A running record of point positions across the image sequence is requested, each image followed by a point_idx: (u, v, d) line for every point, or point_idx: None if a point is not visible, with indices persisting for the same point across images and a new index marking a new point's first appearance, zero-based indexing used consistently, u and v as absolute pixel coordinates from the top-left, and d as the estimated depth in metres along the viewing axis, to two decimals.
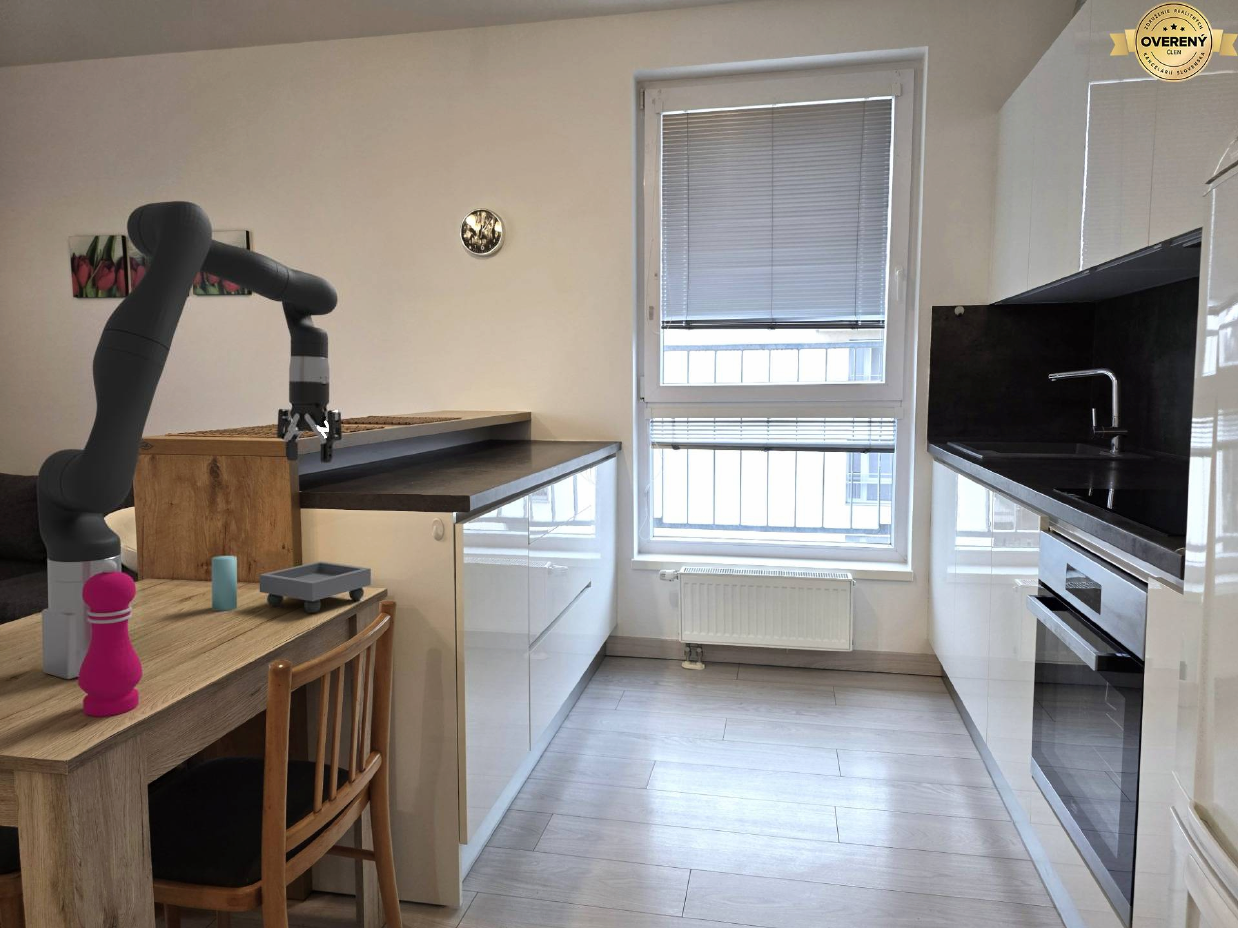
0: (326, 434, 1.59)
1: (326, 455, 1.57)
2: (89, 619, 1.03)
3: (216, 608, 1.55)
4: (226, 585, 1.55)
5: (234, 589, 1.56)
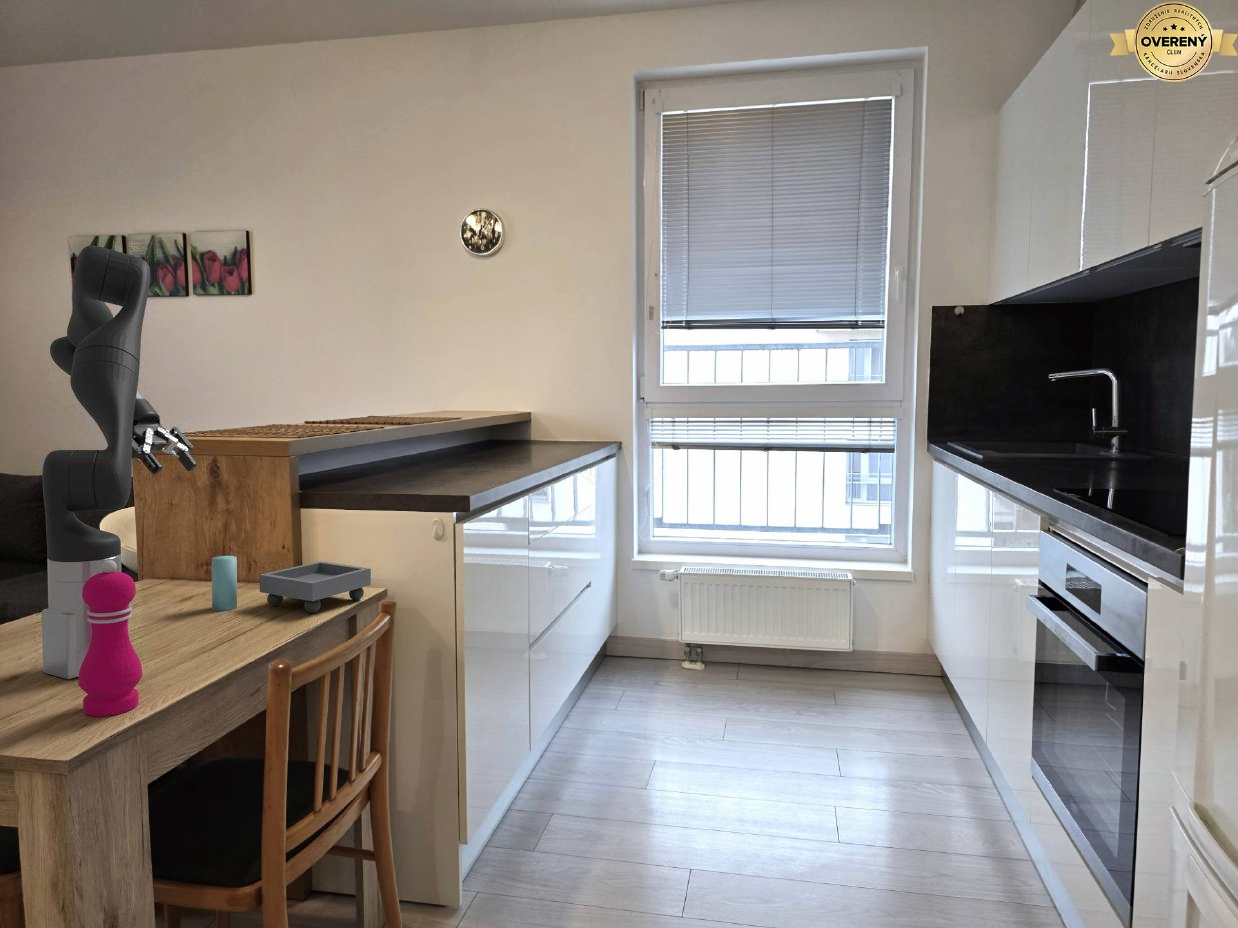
0: (172, 450, 1.62)
1: (193, 460, 1.63)
2: (89, 619, 1.03)
3: (216, 608, 1.55)
4: (226, 585, 1.55)
5: (234, 589, 1.56)
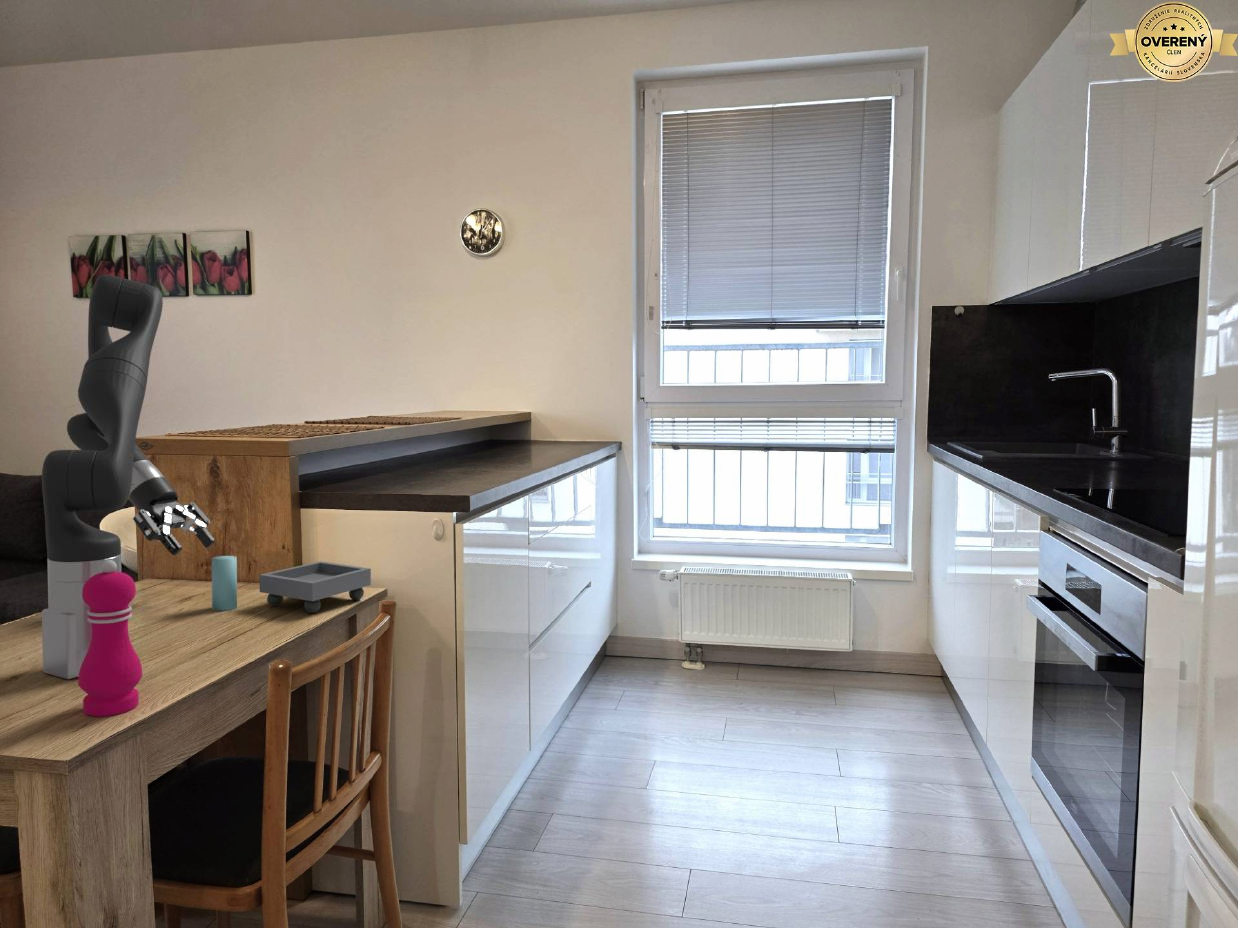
0: (190, 527, 1.62)
1: (211, 537, 1.62)
2: (89, 619, 1.03)
3: (216, 608, 1.55)
4: (226, 585, 1.55)
5: (234, 589, 1.56)
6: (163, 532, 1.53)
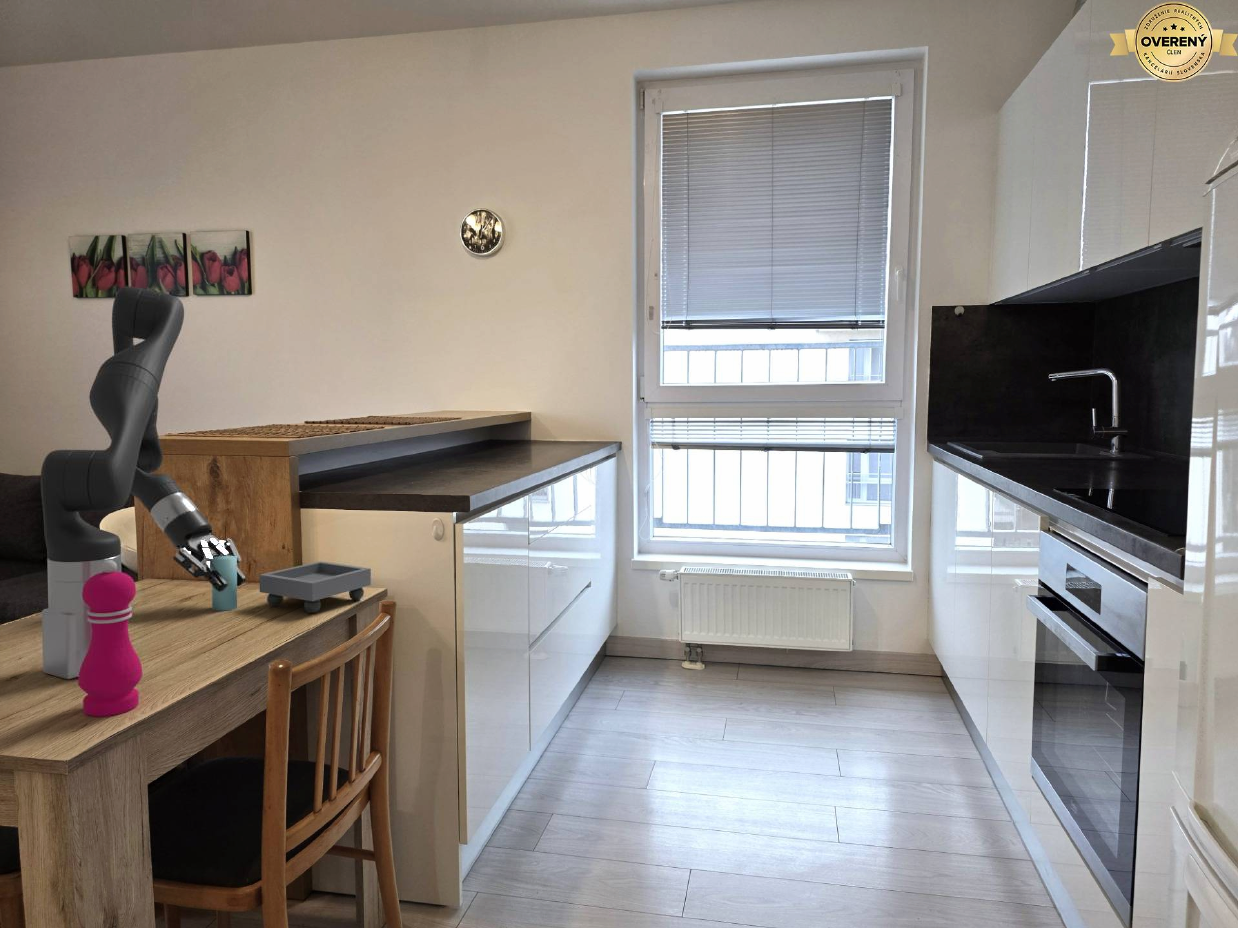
0: None
1: None
2: (89, 619, 1.03)
3: (216, 608, 1.55)
4: None
5: (234, 589, 1.56)
6: (210, 569, 1.53)
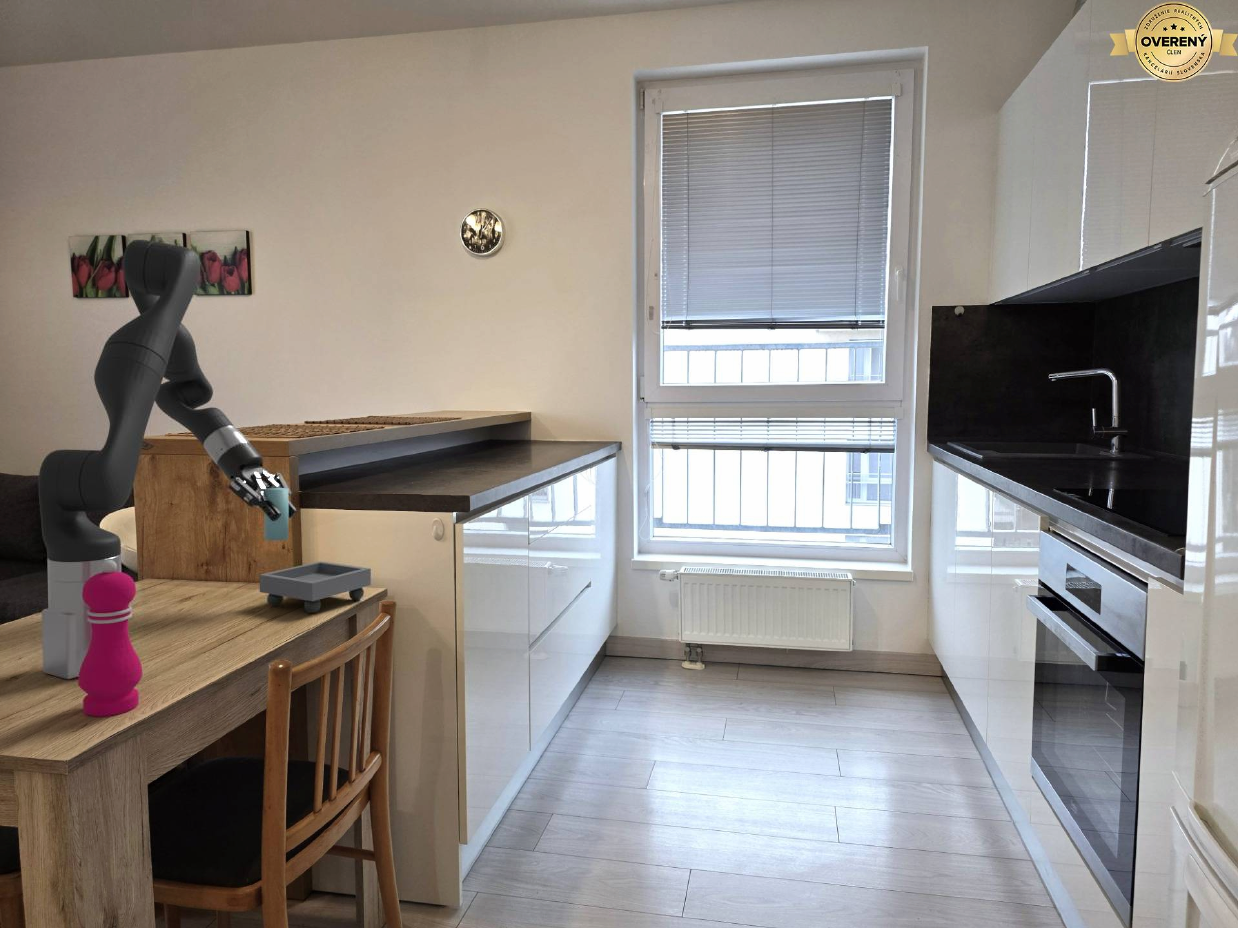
0: None
1: None
2: (89, 619, 1.03)
3: (269, 538, 1.57)
4: None
5: (286, 519, 1.59)
6: (264, 499, 1.56)
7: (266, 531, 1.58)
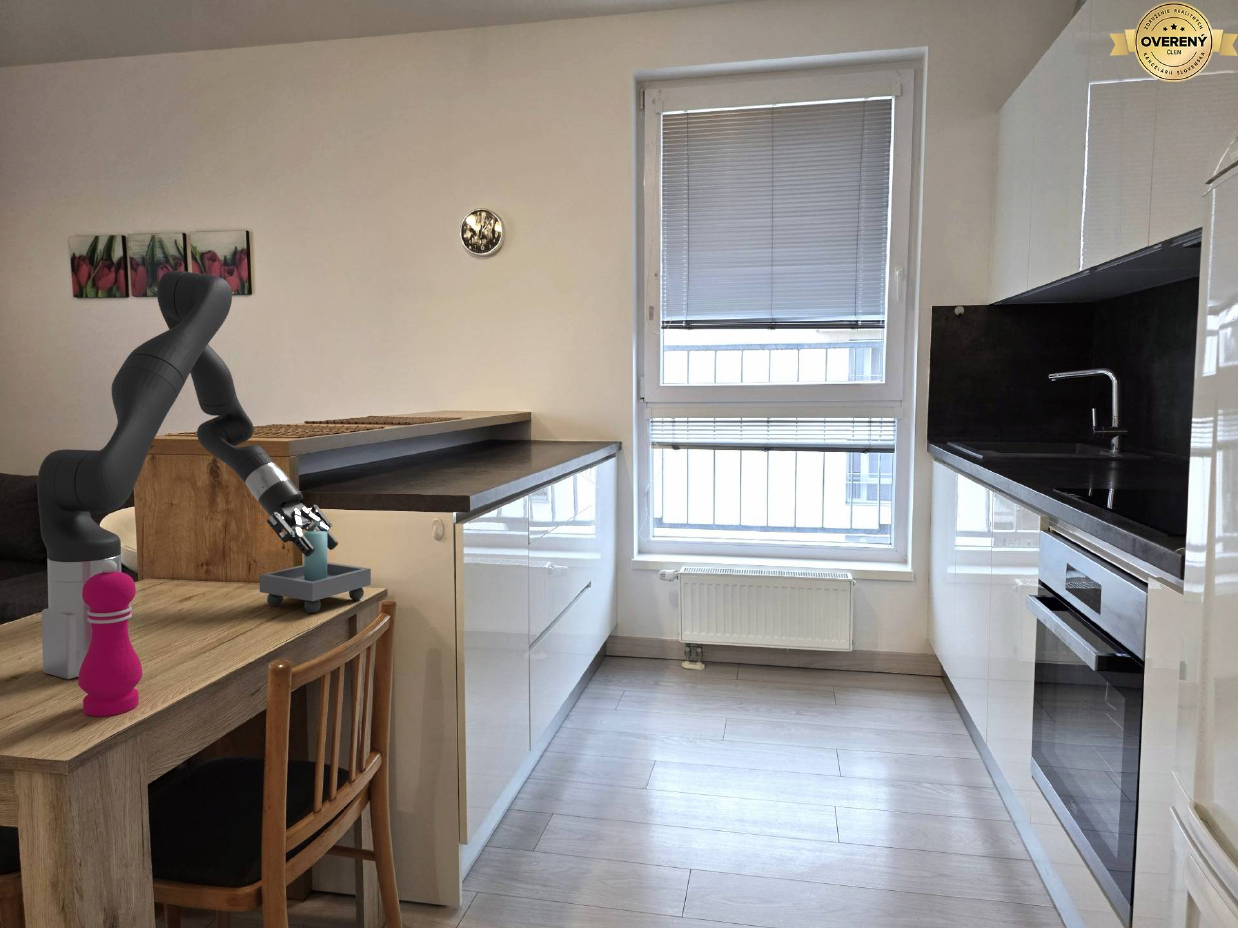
0: (314, 529, 1.66)
1: (334, 539, 1.66)
2: (89, 619, 1.03)
3: None
4: (318, 559, 1.60)
5: (325, 563, 1.62)
6: (297, 534, 1.57)
7: (306, 574, 1.61)
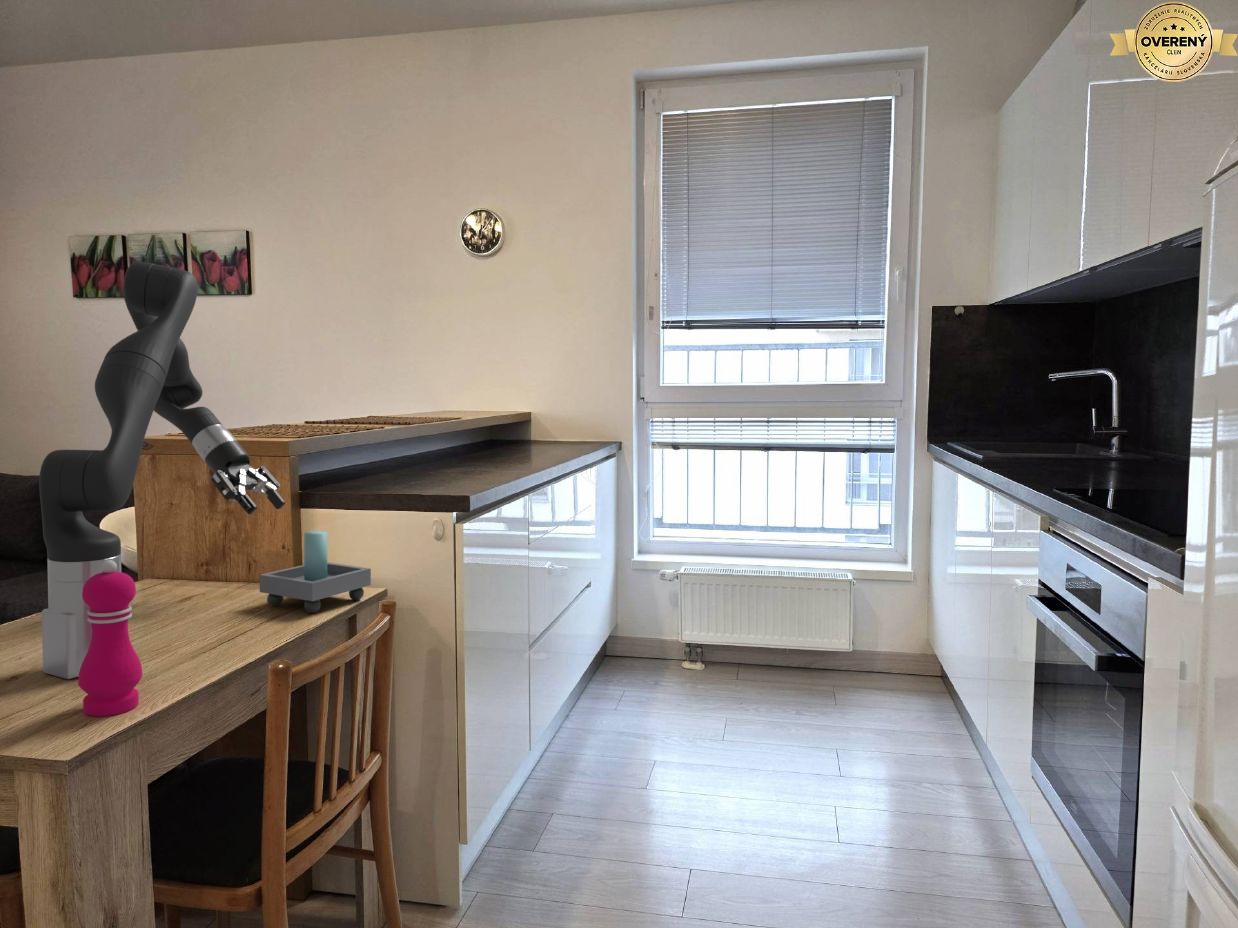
0: (262, 489, 1.69)
1: (281, 499, 1.69)
2: (89, 619, 1.03)
3: None
4: (319, 559, 1.60)
5: (325, 563, 1.62)
6: (239, 492, 1.59)
7: (306, 574, 1.60)
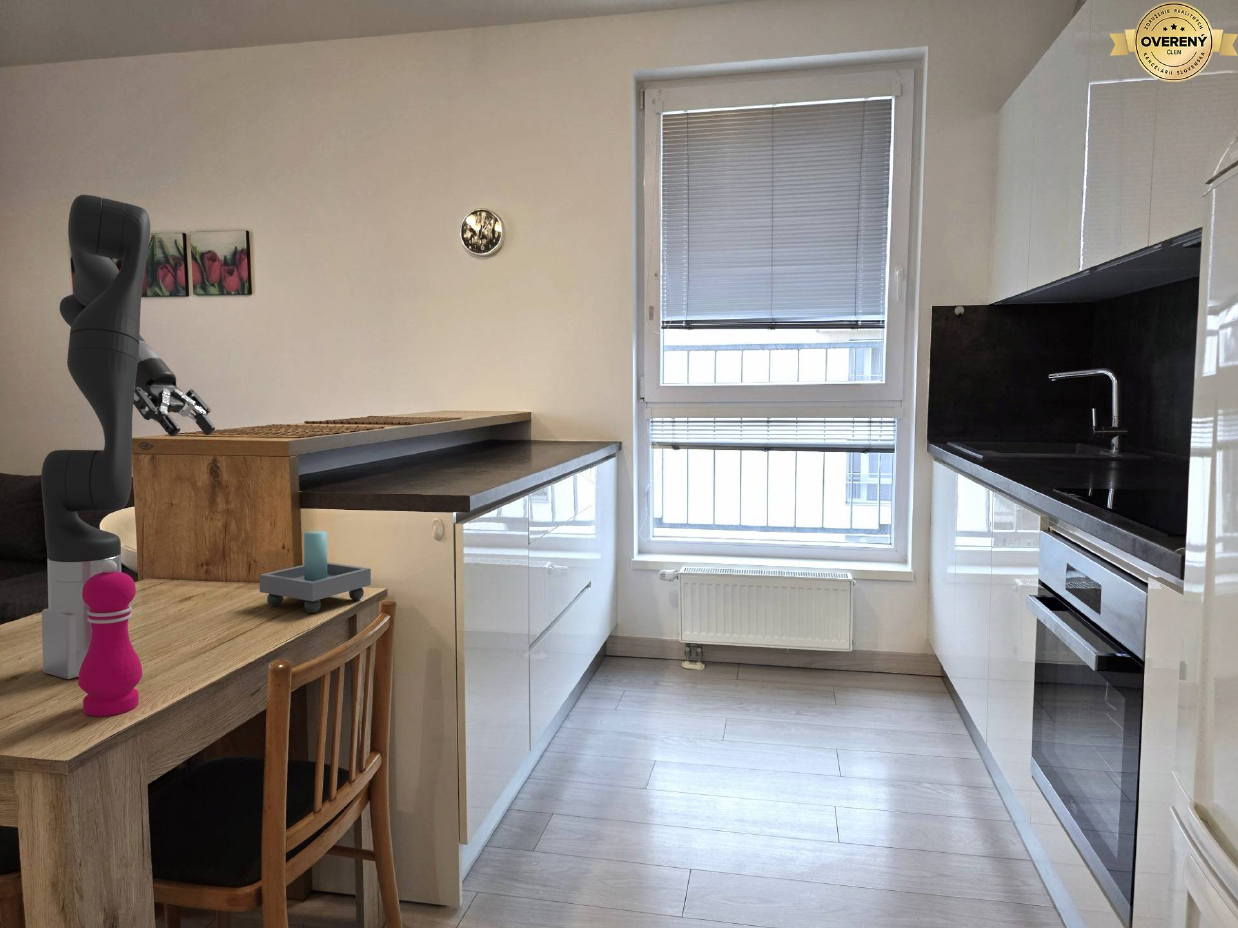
0: (189, 413, 1.54)
1: (211, 424, 1.54)
2: (89, 619, 1.03)
3: None
4: (319, 558, 1.60)
5: (325, 562, 1.62)
6: (160, 411, 1.44)
7: (306, 574, 1.60)
